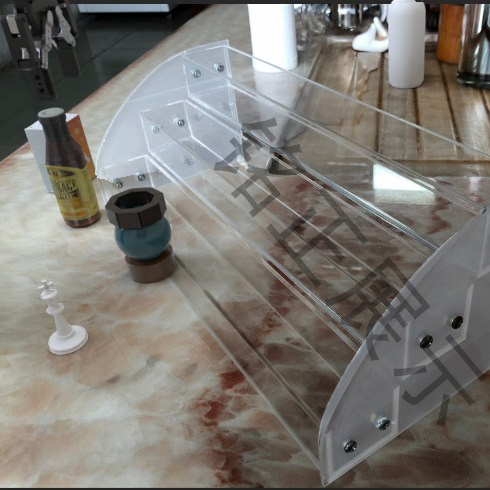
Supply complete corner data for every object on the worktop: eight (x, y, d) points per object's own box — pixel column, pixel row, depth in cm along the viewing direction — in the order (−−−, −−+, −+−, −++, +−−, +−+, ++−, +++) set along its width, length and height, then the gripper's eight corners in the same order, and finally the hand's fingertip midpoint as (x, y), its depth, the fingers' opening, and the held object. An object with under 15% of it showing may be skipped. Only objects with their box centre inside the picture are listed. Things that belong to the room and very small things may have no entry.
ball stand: (119, 286, 87) (100, 226, 81) (134, 255, 94) (116, 197, 88) (173, 283, 87) (157, 223, 81) (184, 252, 93) (170, 194, 88)
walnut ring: (104, 230, 82) (99, 214, 81) (119, 203, 88) (115, 188, 87) (158, 227, 82) (154, 211, 80) (170, 201, 88) (166, 185, 87)
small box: (74, 195, 112) (52, 130, 105) (46, 192, 114) (22, 129, 106) (98, 175, 118) (79, 113, 111) (71, 173, 120) (50, 112, 113)
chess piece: (43, 341, 78) (16, 281, 73) (80, 323, 81) (56, 264, 75) (56, 360, 75) (29, 299, 69) (94, 341, 77) (70, 281, 72)
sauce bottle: (57, 227, 103) (16, 118, 91) (79, 208, 107) (43, 103, 96) (89, 231, 101) (51, 120, 90) (110, 212, 106) (77, 105, 94)
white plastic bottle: (387, 78, 155) (387, -49, 138) (421, 76, 154) (425, -52, 137) (389, 90, 147) (388, -43, 130) (425, 88, 147) (429, -46, 130)
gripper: (12, -59, 73) (53, 71, 82) (-48, -40, 62) (8, 109, 71) (71, -63, 73) (107, 68, 82) (23, -45, 61) (70, 105, 70)
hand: (61, 87), depth 76 cm, fingers open, 8 cm apart
